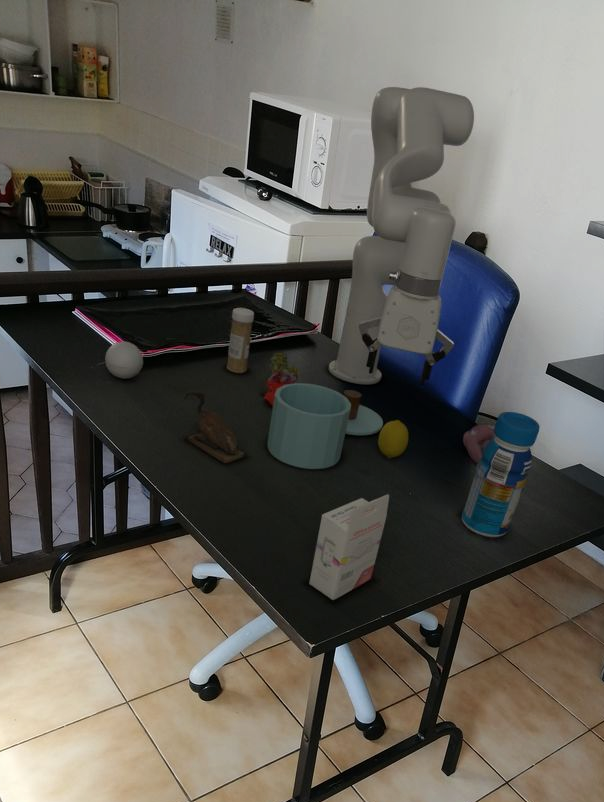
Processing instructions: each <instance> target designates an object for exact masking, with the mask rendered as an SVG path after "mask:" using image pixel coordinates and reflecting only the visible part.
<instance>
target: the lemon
mask: <svg viewBox="0 0 604 802" xmlns="http://www.w3.org/2000/svg"><path fill="white" fill-rule="evenodd" d="M408 443H409V430H408V428H407V426H406V425H405V424H404V422H401V421H400V420H399V419H395V420H391V421H388V422H386V423H385V424H383V426H382V428H381V430H380V431H379V434H378V440H377V445H378V448H379V450H380V452H381V453H382V454H383V455H384V456H385V457H386V458H387V459H393V458H396V457H399V456H401V455H402V454H403V453H404V452H405V451H406V448H407V446H408Z"/></svg>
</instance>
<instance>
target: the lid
mask: <svg viewBox="0 0 604 802" xmlns="http://www.w3.org/2000/svg"><path fill="white" fill-rule="evenodd" d="M342 395H343V396H345V397H346V398H347V399H348V400H349V402H350V403H351V408H350V414H349V418H348V423H347V428H346V432H345V435H351V436H369V435H373V434H377V433H379V432H381V430H382V428H383V427H384V421H383V418H382V417H381V415H379V414H378V413H377V412H375V410H373V409H371V408H369V407H367V406H364V405H361V400H362V394H361V392H359V391H357V390H354V389H346V390H344V391H343V394H342Z"/></svg>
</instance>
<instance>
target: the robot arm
mask: <svg viewBox="0 0 604 802" xmlns="http://www.w3.org/2000/svg"><path fill="white" fill-rule="evenodd" d="M474 124H475V111H474V106H473V103H472V102H471V100H470V99H469V98H468V97H467V96H466V95H465V96H464V95H461V94H457V93H453V92H448V91H445V90H444V91H443V90H440V89H436V88H435V89H434V88H430V87H422V86H421V87H419V86H418V87H417V86H416V87H413V88H405V87H400V86H398V87H397V86H388V87H383V88H381V89H380V90H379V91H377V93H376V94H375V96H374V99H373V102H372V108H371V117H370V130H371V131H370V132H371V139H372V144H373V145H372V146H373V155H374V156H373V165H372V172H371V179H370V184H369V185H370V186H369V193H368V200H367V207H366V220H367V223H368V224H369V225H370V226H371V228H373V231H374V232H375V234H376V235H368V236H364V237H361V238H360V239H359V240H358V241H356V243H355V245H354V249H353V252H352V271H351V282H350V289H349V295H348V301H347V304H346V305H347V306H346V311H345V315H344V320H343V321H344V322H343V326H342V332H341V337H340V342H339V346H338V351H337V357H336V359H335V360H332V361H330V362H329V364H328V371H329V373H330V374H331V375H332V376H334V377H335V378H337V379H339V380H341V381H344V382H347V383H350V384H351V383H352V384H356V385H375V384H377V383H379V382H380V381H381V379H382V375H383V374H382V372H381V371H380V369H378V363H379V360H380V354H381V350H382V346H383V347H386V348H390V349H395V350H399V351H404V352H408V353H413V354H417V355H418V354H419V355H423V356H425V359H424V362H423V367H422V371H421V374H420V378H419V381H420V382H419V384H420V385H421V386H425V382H426V381H429V380H430V377H431V374H432V369H433V366H434V365H436V363H438V362H439V361H441V360H443V359H445V357H447V355H448V354H449V353H450V352H451V351H452V350H453V348H454V345H455V343H454V341H452V339H450V337H448V336H447V335H446V334H444V333H443V332H442V331H441V330H440V329H439V328H438V327H439V322H440V317H441V312H442V297H441V296H440V295H439V293H440V289H441V285H442V281H443V277H444V274H445V269H446V265H447V261H448V257H449V254H450V249H451V244H452V241H453V236H454V234H455V230H456V225H457V224H456V222H457V221H456V218H455V216H454V215H453V212H452V210H451V208H450V206H448V205H447V204H444V203H441V199H440V197H439V196H438V194H436V193H435V192H433V191H430V190H427V189H422V188H416V187H413V186H412V183H417V182H418V181H419V182H420V181H423V180H427V179H428V178H429V179H430V178H431V177H433V176H434V175H436V174H437V173H438V172H439V171H440V170H441V168H442V167H443V164H444V161H445V148H444V147H445V146H452V147H460V146H462V145H465V143H466V142H467V141H468V140H469V138H470V136H471V134H472V132H473V129H474ZM384 286H391V288H390V289H389V292H388V293H386V291H385V289H384ZM436 340H437V341H438V342H439V343H440V344H442V345H443V346H442V348H440V349H438V350H437V351H435V352H434V351H433V348H434V346H435V342H436Z"/></svg>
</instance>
